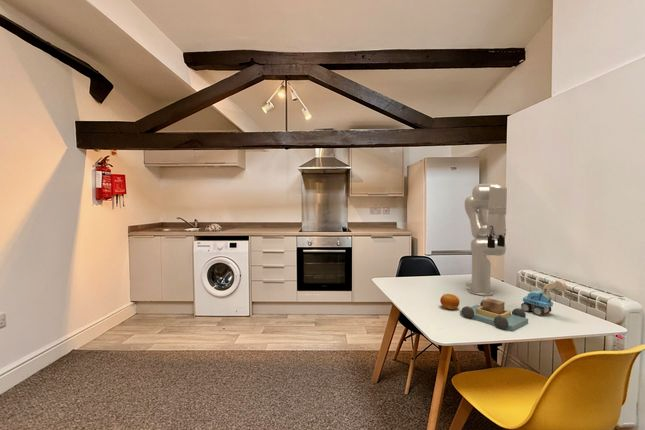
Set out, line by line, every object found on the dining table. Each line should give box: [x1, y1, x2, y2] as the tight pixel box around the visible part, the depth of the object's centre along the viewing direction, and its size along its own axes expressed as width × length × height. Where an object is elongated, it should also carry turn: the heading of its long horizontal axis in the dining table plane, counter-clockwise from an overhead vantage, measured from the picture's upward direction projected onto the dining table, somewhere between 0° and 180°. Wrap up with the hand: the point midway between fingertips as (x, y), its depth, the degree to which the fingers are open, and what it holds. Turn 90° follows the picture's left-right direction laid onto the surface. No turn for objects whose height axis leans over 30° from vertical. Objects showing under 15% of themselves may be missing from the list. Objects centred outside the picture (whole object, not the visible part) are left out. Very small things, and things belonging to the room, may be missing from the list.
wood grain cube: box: [482, 297, 505, 315], centre depth 134 cm, size 7×5×6 cm
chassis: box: [459, 300, 529, 332], centre depth 134 cm, size 22×18×5 cm
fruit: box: [440, 293, 460, 310], centre depth 148 cm, size 8×8×8 cm
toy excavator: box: [520, 279, 568, 317], centre depth 140 cm, size 9×17×17 cm, turn 27°
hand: (496, 247), depth 146 cm, fingers open, 9 cm apart
